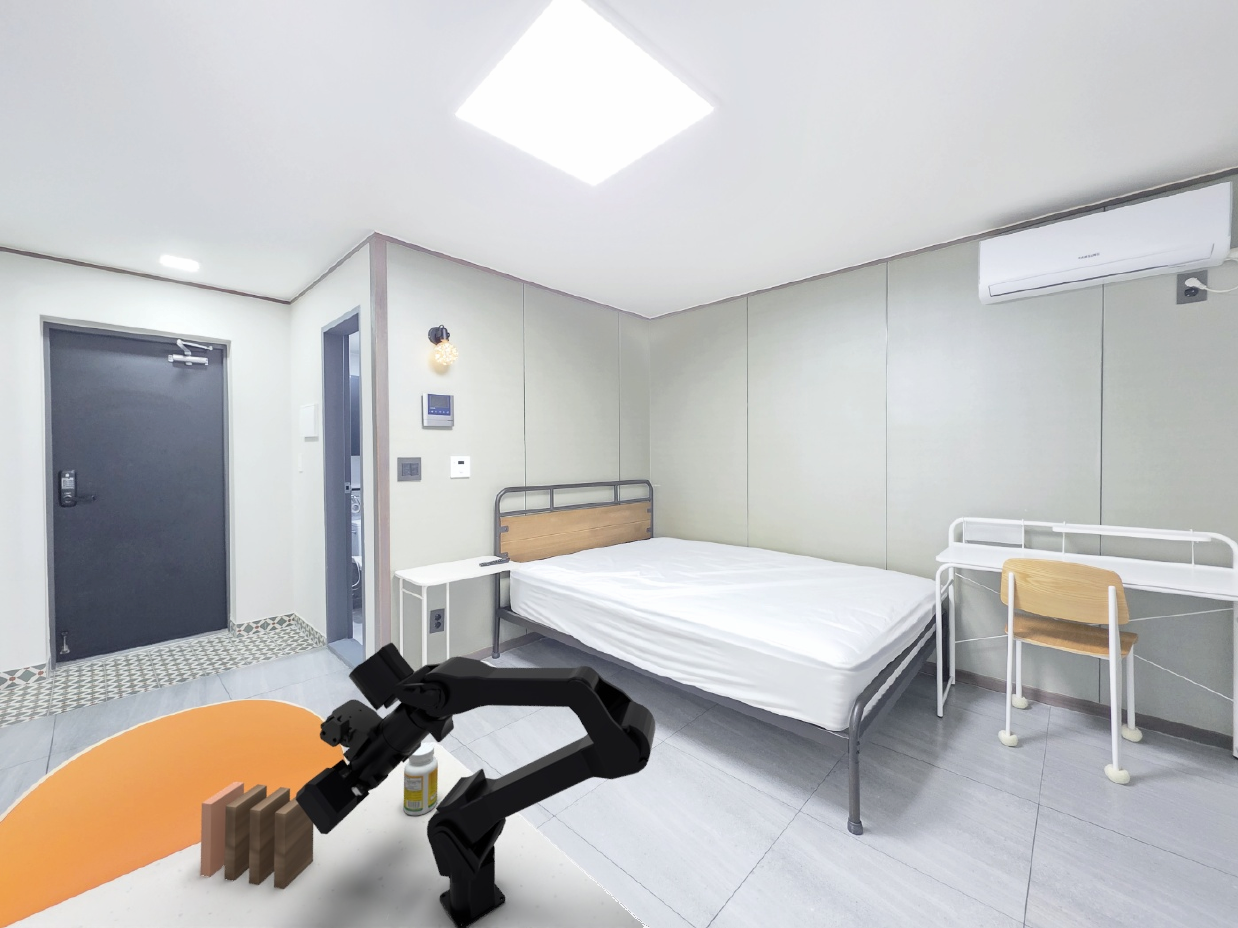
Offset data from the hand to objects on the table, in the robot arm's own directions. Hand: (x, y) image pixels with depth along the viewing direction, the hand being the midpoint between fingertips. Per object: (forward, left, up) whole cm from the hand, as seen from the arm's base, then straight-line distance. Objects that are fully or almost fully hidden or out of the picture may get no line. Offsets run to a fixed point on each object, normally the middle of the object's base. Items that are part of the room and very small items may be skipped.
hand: (328, 804), depth 69 cm
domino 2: (+10, +8, -10) cm, 17 cm away
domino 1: (+14, +11, -10) cm, 20 cm away
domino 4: (+4, +3, -10) cm, 11 cm away
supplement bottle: (+7, -15, -10) cm, 20 cm away
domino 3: (+7, +6, -10) cm, 14 cm away
